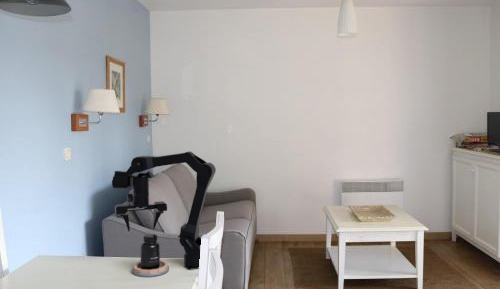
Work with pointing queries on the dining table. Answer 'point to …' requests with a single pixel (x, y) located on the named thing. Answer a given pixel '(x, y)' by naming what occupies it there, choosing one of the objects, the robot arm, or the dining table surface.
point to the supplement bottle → (150, 252)
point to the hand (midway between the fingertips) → (141, 230)
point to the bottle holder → (150, 273)
